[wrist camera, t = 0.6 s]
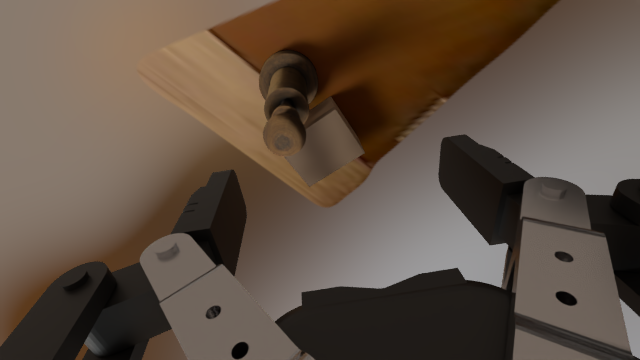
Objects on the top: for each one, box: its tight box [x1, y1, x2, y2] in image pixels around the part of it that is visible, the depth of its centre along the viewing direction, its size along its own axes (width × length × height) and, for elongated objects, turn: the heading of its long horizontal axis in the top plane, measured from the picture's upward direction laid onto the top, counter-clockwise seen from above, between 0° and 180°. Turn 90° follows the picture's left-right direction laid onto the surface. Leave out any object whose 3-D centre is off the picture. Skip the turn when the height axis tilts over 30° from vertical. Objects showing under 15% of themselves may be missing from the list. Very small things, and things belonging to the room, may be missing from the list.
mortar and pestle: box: [259, 50, 318, 156], centre depth 28 cm, size 7×6×18 cm
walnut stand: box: [284, 96, 365, 187], centre depth 37 cm, size 8×6×5 cm
